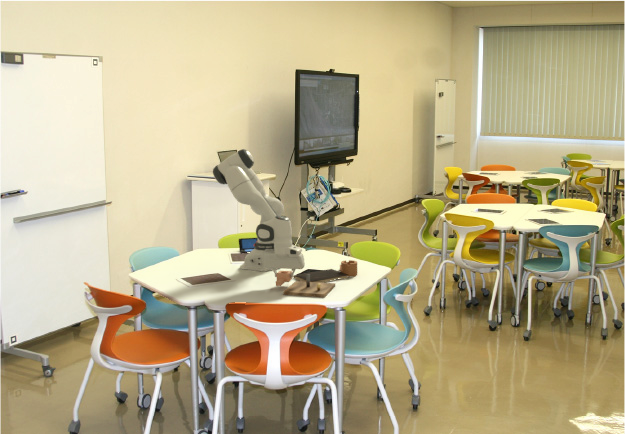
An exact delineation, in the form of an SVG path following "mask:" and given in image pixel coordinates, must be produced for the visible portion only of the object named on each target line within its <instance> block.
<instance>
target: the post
mask: <svg viewBox="0 0 625 434" xmlns="http://www.w3.org/2000/svg"><path fill="white" fill-rule="evenodd" d="M306 287H310V274H306Z"/></svg>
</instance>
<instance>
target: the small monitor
mask: <svg viewBox="0 0 625 434" xmlns="http://www.w3.org/2000/svg"><path fill="white" fill-rule="evenodd" d="M257 241H258V239H257V237H246V238H245V237H243V238H238V247H239V252H240V254H242V253H244V254H248V253H247V252H251V251H252V250H254V249H255V247H254V245H253V244H254V243H256V242H257Z"/></svg>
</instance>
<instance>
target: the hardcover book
mask: <svg viewBox="0 0 625 434" xmlns="http://www.w3.org/2000/svg"><path fill="white" fill-rule="evenodd" d="M306 274H310V282H321V283H329V282H331V281H330V280H334V279H338V278H345V279H349V277H348V274H345V273H342V272H340V270H336V269H333V268H330V269H324V270H323V269H322V270H317V271H312V272H305V273H300V274H293V279H295V280H296V281H304V282H306ZM334 281H335V280H334Z"/></svg>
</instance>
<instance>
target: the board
mask: <svg viewBox="0 0 625 434" xmlns="http://www.w3.org/2000/svg"><path fill="white" fill-rule="evenodd" d="M318 283H320V290H319V291H318V290H317V284H318ZM335 287H336V283H335V282H333V283H332V282H323V283H321V282H310V287H306V282H304V281H300V280H295V281H294V282H293V283H292V284H290V285H288V287H287V288H286V289H284V290H283V291H282V295H283V296H284V295H285V296H294V297H295V296H296V297H297V296H298V297H310V298H311V297H313V298H326V296H327V295H328V294H329V293H331V292H332V290H333V289H334V288H335Z"/></svg>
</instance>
